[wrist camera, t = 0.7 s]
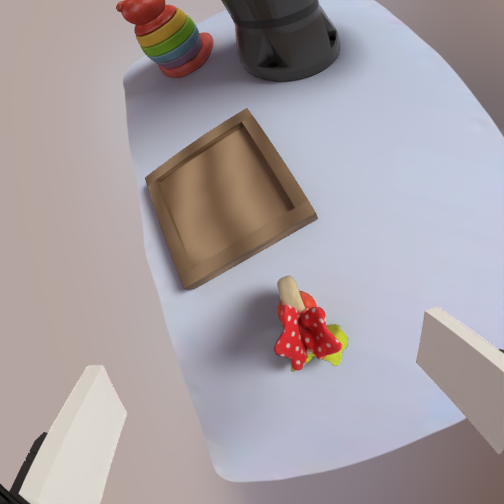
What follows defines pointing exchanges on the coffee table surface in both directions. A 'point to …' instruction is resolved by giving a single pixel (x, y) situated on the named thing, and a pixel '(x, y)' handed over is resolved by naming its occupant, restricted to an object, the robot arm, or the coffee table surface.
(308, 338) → the bird rattle
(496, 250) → the coffee table surface
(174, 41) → the stacking bear
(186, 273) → the walnut plate
